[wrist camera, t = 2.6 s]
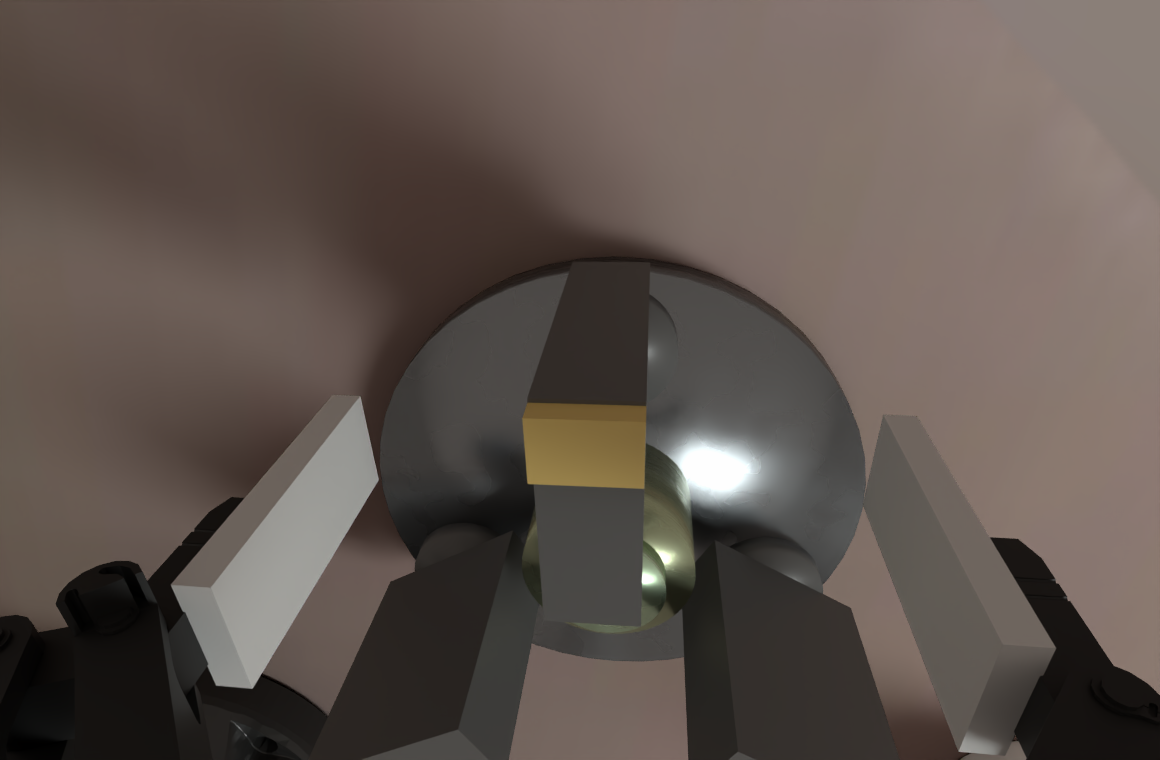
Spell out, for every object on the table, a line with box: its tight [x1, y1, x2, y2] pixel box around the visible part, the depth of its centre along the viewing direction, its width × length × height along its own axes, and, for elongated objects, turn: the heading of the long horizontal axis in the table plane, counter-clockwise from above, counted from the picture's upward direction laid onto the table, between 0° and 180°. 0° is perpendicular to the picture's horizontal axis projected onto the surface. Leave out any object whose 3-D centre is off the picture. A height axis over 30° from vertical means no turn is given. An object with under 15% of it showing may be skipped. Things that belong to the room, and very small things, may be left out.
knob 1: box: [308, 523, 539, 760], centre depth 24 cm, size 6×4×10 cm
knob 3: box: [682, 537, 900, 760], centre depth 23 cm, size 6×4×10 cm
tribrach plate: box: [380, 257, 866, 661], centre depth 25 cm, size 19×19×7 cm
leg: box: [522, 262, 678, 627], centre depth 19 cm, size 6×4×10 cm
